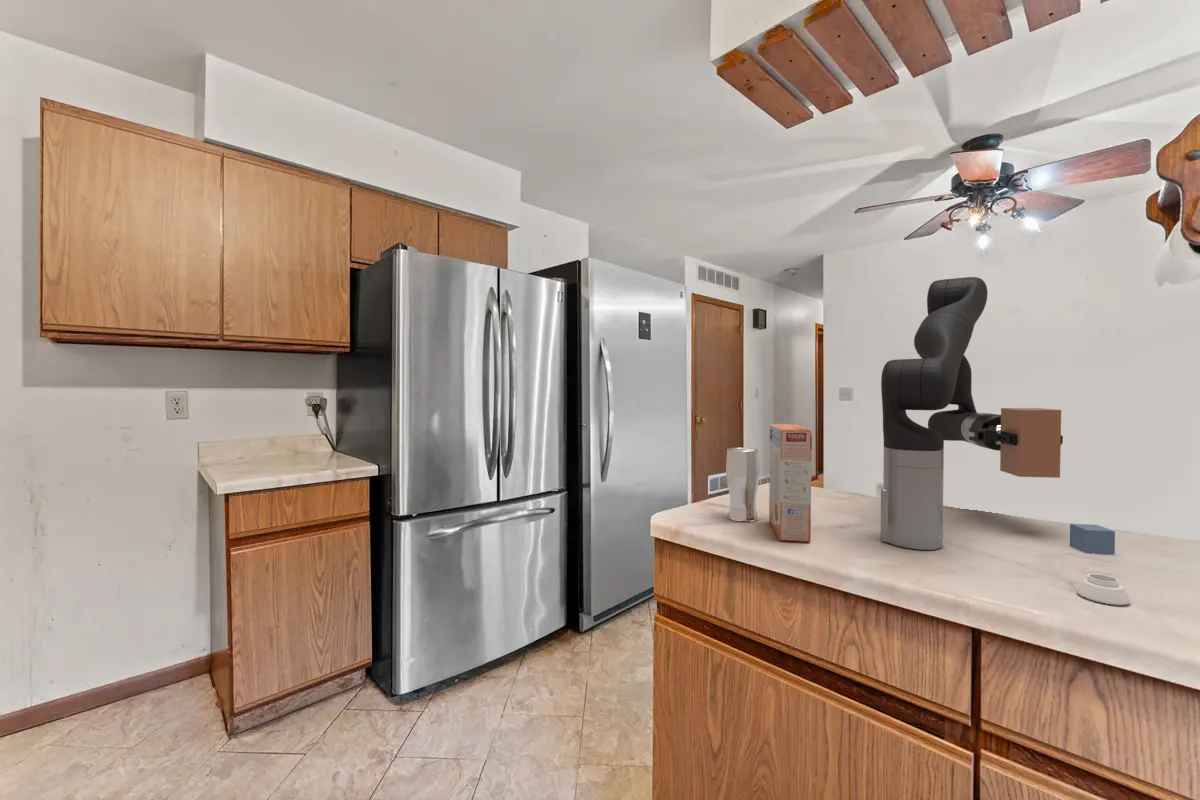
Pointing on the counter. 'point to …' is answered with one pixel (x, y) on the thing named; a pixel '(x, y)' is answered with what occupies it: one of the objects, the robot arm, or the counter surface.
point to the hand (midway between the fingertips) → (1037, 439)
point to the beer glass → (742, 482)
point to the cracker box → (790, 482)
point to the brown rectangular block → (1031, 442)
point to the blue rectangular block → (1092, 539)
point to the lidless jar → (1103, 590)
